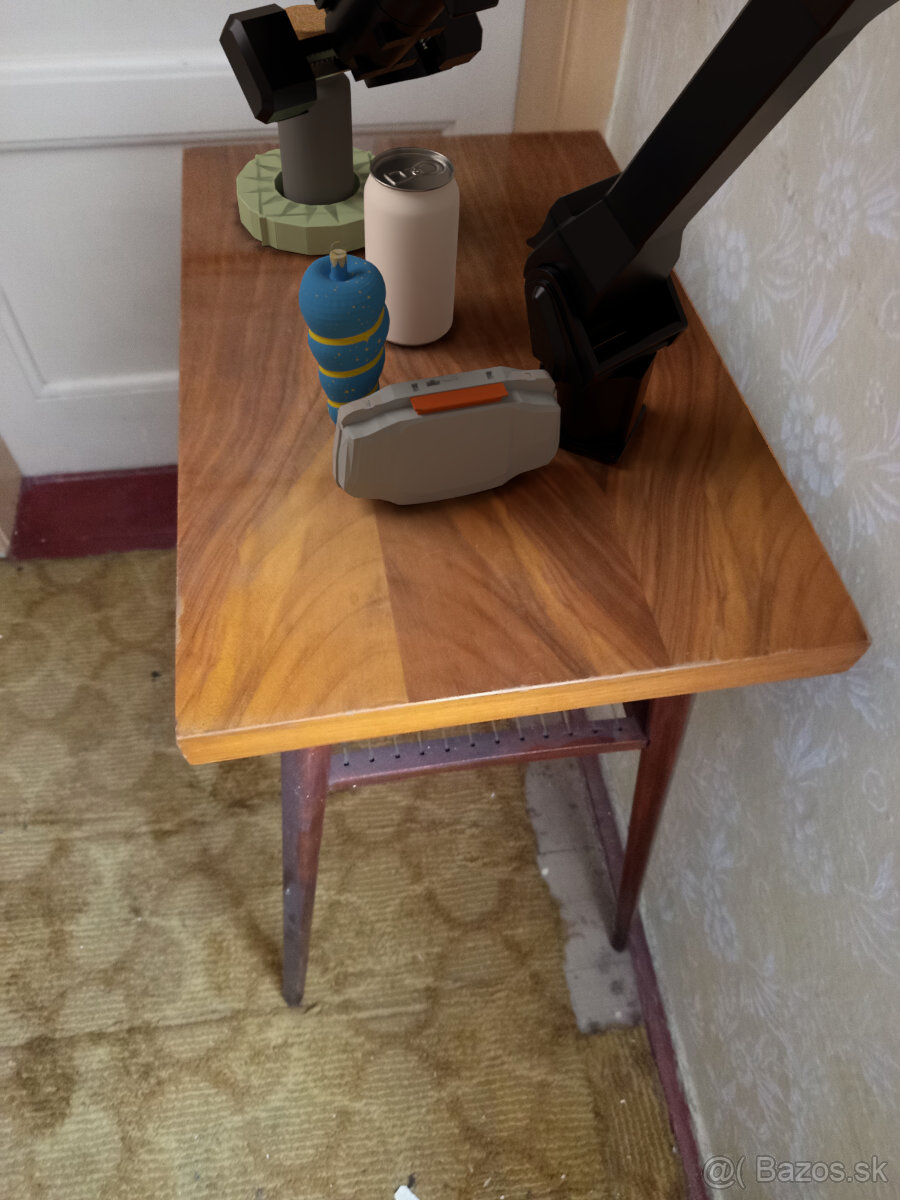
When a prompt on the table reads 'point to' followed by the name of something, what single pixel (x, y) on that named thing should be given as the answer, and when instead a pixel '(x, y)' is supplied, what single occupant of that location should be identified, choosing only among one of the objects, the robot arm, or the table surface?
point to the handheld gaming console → (446, 435)
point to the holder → (300, 209)
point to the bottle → (318, 132)
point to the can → (413, 240)
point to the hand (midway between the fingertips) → (317, 96)
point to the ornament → (345, 325)
